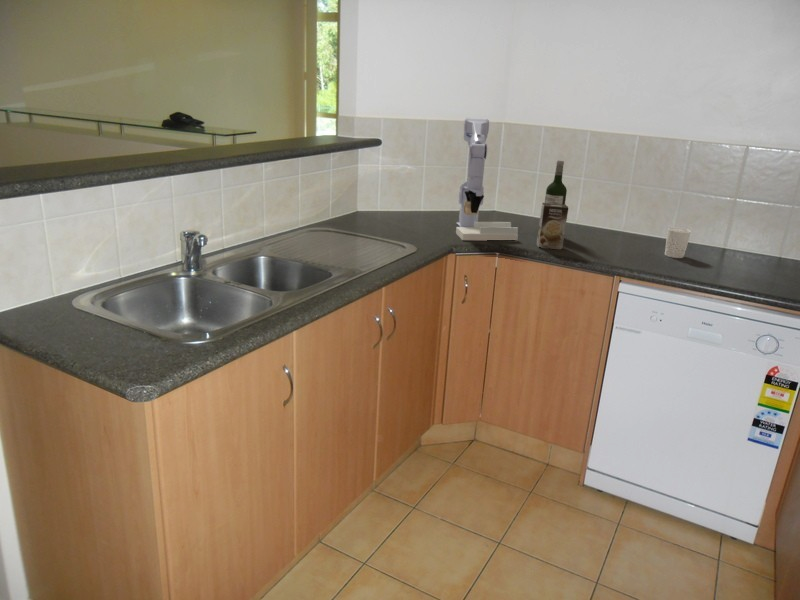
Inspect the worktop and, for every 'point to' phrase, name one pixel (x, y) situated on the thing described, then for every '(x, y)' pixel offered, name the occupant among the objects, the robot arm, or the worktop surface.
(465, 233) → the white tray
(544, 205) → the coffee box
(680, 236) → the white cup
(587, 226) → the worktop surface
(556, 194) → the wine bottle
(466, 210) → the block
